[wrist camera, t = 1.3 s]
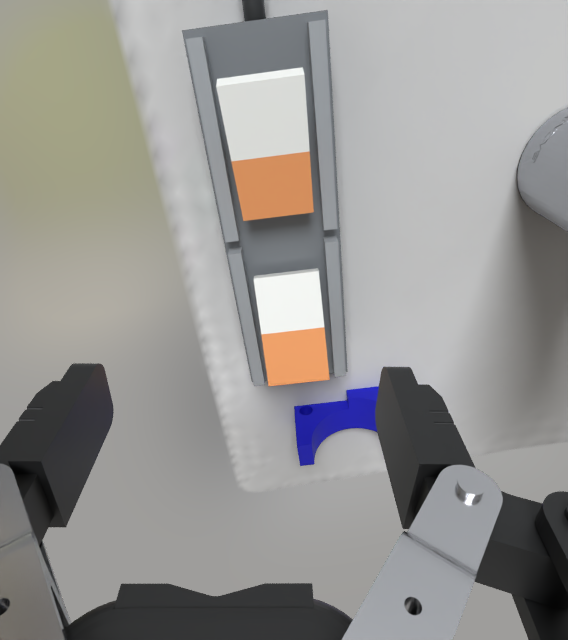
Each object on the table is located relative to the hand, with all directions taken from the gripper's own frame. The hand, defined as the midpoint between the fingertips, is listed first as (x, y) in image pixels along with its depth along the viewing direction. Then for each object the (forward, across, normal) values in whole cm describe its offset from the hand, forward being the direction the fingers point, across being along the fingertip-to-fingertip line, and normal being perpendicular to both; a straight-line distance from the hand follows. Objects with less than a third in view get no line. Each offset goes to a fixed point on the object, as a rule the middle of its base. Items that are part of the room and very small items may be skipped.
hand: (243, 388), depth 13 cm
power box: (+28, -1, +1) cm, 28 cm away
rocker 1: (+21, 0, -3) cm, 21 cm away
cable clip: (+29, -9, +26) cm, 40 cm away
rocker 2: (+21, -2, +11) cm, 24 cm away
